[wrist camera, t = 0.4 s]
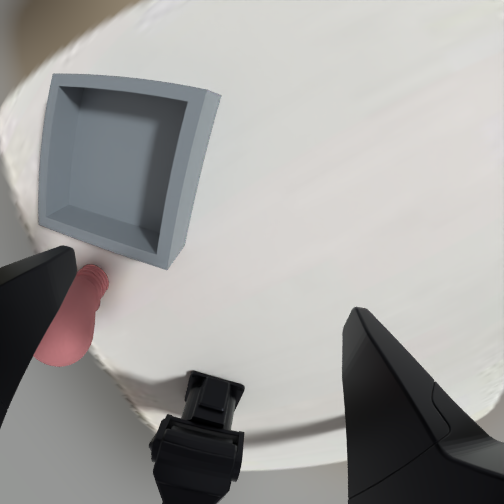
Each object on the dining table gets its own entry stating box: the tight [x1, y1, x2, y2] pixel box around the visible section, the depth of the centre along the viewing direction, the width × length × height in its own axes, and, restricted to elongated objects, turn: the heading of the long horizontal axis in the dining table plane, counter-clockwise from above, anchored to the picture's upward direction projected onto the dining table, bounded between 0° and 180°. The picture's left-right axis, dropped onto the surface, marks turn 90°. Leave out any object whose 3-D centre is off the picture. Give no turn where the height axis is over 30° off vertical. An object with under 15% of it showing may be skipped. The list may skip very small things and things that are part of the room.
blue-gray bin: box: [38, 74, 221, 270], centre depth 21 cm, size 13×13×4 cm
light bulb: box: [33, 264, 109, 367], centre depth 23 cm, size 7×7×12 cm
